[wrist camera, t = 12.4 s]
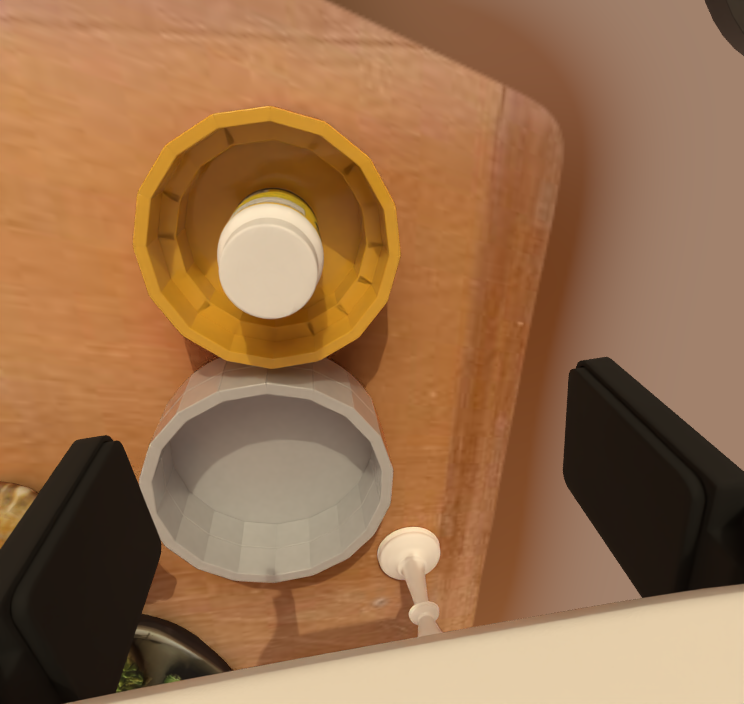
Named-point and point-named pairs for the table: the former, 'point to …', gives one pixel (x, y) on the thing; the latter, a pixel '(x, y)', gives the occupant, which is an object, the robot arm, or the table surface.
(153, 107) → the table surface
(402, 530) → the chess piece
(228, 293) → the supplement bottle
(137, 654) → the salad plate
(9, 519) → the seashell
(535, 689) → the robot arm
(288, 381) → the gray round dish
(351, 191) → the yellow bowl
